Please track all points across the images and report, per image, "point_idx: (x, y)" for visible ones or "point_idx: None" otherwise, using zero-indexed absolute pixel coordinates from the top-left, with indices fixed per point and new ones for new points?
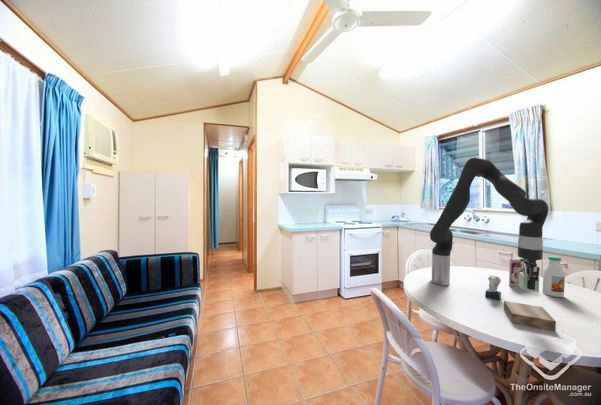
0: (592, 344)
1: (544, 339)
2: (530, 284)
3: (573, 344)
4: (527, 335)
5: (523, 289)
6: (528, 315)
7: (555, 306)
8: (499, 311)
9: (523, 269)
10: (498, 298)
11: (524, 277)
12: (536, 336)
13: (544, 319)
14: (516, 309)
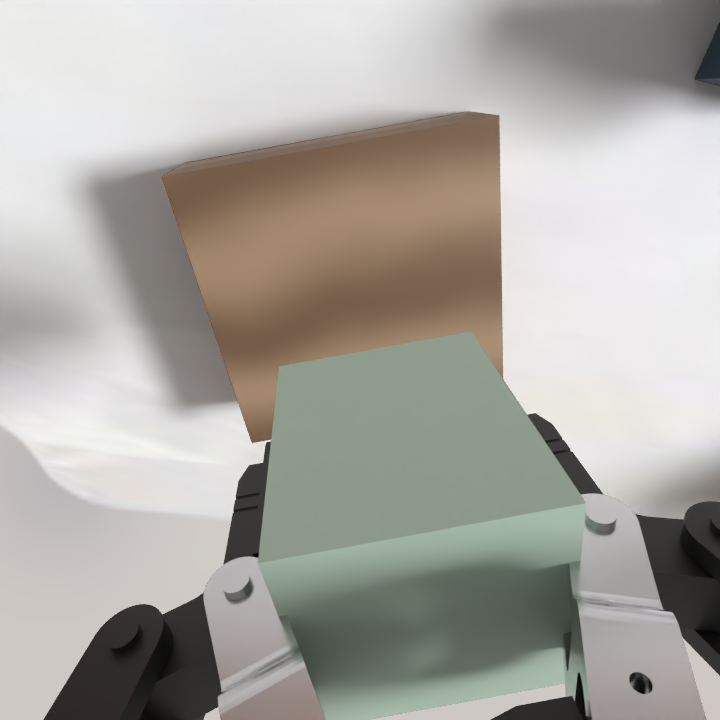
0: (220, 510)
1: (68, 339)
2: (234, 524)
3: (140, 450)
4: (31, 253)
5: (280, 379)
6: (224, 300)
7: (698, 434)
8: (389, 69)
9: (583, 660)
10: (711, 72)
11: (268, 547)
12: (72, 302)
13: (234, 389)
14: (308, 219)
